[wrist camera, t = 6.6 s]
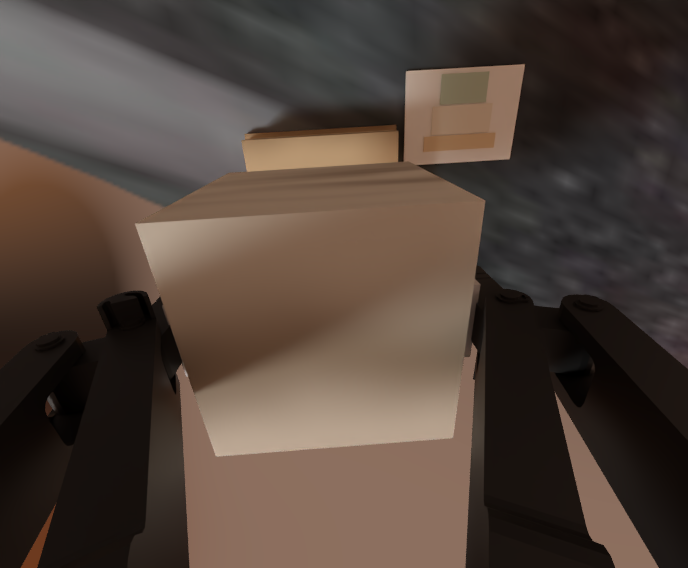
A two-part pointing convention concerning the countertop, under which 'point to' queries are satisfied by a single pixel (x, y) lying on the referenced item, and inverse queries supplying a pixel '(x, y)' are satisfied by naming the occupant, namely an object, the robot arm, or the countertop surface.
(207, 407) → the birch brick
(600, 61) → the countertop surface
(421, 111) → the page
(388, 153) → the base
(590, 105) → the countertop surface
